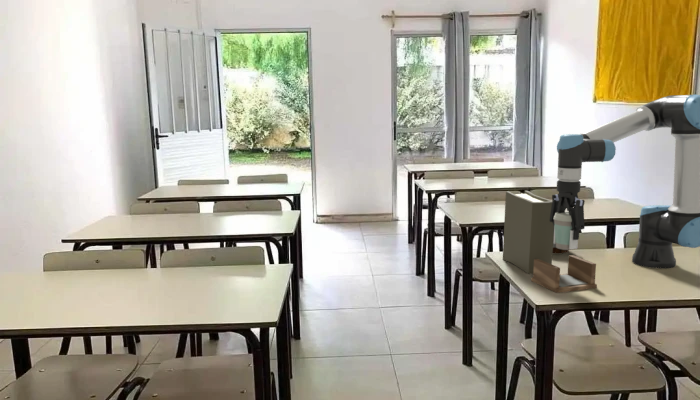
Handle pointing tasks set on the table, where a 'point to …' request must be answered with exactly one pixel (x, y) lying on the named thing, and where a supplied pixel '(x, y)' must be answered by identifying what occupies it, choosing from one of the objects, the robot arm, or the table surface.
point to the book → (527, 230)
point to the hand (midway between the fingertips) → (565, 245)
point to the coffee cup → (562, 230)
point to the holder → (565, 275)
